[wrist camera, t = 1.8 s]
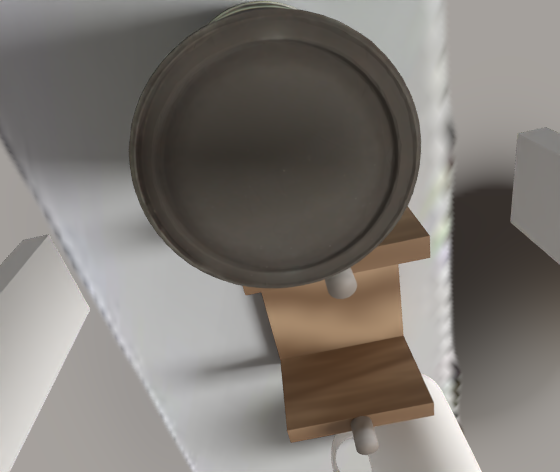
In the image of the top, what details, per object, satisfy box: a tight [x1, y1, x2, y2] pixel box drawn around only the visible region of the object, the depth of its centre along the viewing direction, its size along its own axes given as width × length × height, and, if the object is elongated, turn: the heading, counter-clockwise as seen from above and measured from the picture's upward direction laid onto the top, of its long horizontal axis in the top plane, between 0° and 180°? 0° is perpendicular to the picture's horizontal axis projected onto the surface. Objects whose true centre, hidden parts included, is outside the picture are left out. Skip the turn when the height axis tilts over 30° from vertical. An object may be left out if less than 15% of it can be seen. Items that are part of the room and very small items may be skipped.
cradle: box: [243, 206, 434, 455], centre depth 31 cm, size 16×11×10 cm
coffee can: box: [129, 1, 421, 288], centre depth 21 cm, size 10×10×14 cm
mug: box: [331, 374, 482, 472], centre depth 38 cm, size 9×12×11 cm
